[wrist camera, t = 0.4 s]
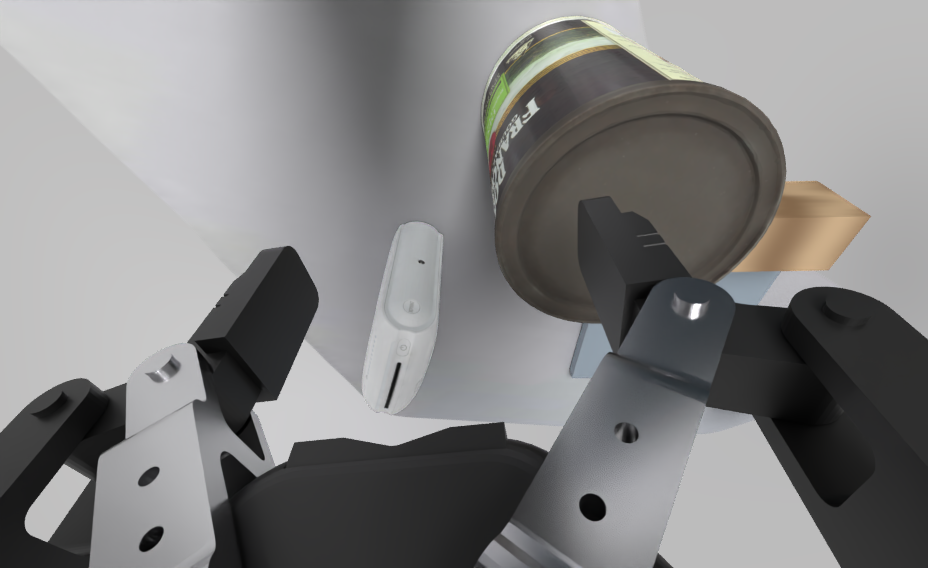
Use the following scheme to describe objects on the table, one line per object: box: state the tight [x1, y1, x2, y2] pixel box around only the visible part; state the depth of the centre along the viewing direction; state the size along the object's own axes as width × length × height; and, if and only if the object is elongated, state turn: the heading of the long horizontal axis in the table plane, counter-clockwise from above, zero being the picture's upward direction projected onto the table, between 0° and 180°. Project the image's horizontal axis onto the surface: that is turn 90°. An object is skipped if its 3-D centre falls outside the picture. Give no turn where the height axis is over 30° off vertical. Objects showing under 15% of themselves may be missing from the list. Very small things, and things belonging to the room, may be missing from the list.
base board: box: [570, 271, 781, 378], centre depth 38 cm, size 16×15×1 cm
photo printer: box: [362, 221, 443, 415], centre depth 29 cm, size 10×4×12 cm, turn 164°
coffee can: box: [481, 16, 786, 324], centre depth 20 cm, size 10×10×14 cm
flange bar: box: [731, 181, 871, 272], centre depth 28 cm, size 10×4×5 cm, turn 91°
